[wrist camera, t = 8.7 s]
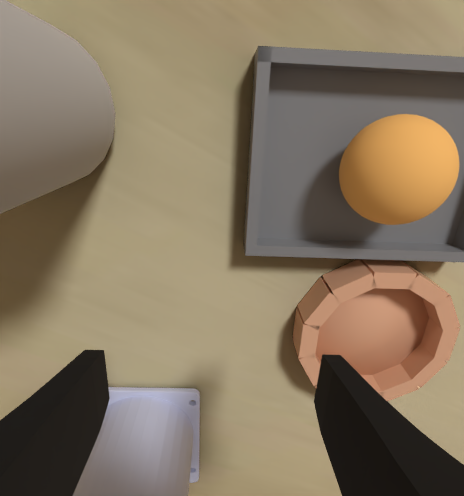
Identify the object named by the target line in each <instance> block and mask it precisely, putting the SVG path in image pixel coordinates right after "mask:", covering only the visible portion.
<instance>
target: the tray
mask: <svg viewBox="0 0 464 496" xmlns="http://www.w3.org/2000/svg"><path fill="white" fill-rule="evenodd" d="M397 114H412V115H419V116H423V117H426V118H428V119H430V120H433V121H434V122H436V123H438V124H439V125H440V126H442V127H443V128H444V129H445V130H446V131H447V132H448V133H449V135H450V136H451V137H452V139H453V141H454V143H455V145H456V147H457V150H458V155H459V173H458V178H457V181H456V184H455V186H454V188H453V190H452V192H451V194H450V195H449V196H448V198H447V199H446V200H445V201H444V203H443V204H442V205H441V206H440V207H438V208H437V209H436V210H435V211H433V212H432V213H431V214H429V215H427V216H426V217H424V218H422V219H419V220H417V221H414V222H411V223H406V224H399V225H386V224H381V223H376V222H373V221H370V220H368V219H366V218H364V217H362V216H361V215H359V214H358V213H357V212H356V211H354V210H353V209H352V208H351V207H350V205H349V204H348V202H347V201H346V199H345V197H344V196H343V193H342V191H341V187H340V183H339V168H340V162H341V159H342V156H343V154H344V151H345V149H346V148H347V146H348V144H349V143H350V142H351V140H352V139H353V138H354V137H355V136H356V135H357V134H358V133H359V132H360V131H361V130H362V129H363V128H364V127H366V126H368V125H369V124H371V123H373V122H375V121H377V120H379V119H381V118H384V117H387V116H392V115H397ZM244 250H245V256H276V257H309V258H342V259H375V260H408V261H441V262H464V57H451V56H433V55H414V54H396V53H378V52H360V51H341V50H323V49H305V48H286V47H268V46H258V48H257V50H256V52H255V60H254V76H253V93H252V110H251V127H250V144H249V160H248V177H247V194H246V211H245V227H244Z"/></svg>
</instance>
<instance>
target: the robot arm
mask: <svg viewBox="0 0 464 496" xmlns="http://www.w3.org/2000/svg"><path fill="white" fill-rule="evenodd" d="M191 400H194V401H191ZM314 403H315V408H316V413H317V418H318V422H319V427H320V431H321V435H322V438H323V441H324V444H325V447H326V450H327V452H328V455H329V458H330V461H331V464H332V467H333V470H334V473H335V476H336V479H337V482H338V485H339V487H340V490H341V493H342V496H464V465H463V464H462V463H460V462H459V461H458V460H456V459H455V458H454V457H452V456H451V455H450V454H448V453H447V452H446V451H445V450H443V449H442V448H441V447H439V446H438V445H437V444H436V443H434V442H433V441H432V440H431V439H429V438H428V437H427V436H426V435H424V434H423V433H422V432H421V431H420V430H418V429H417V428H416V427H415V426H414V425H413V424H412V423H410V422H409V421H408V420H407V419H406V418H405V417H404V416H402V415H401V414H400V413H399V412H398V411H397V410H396V409H395V408H394V407H393V406H392V405H390V404H389V403H388V402H387V401H386V400H385V399H384V398H383V397H382V396H381V395H380V394H379V393H378V392H377V391H376V390H375V389H374V388H373V387H372V386H371V385H370V384H369V383H368V382H367V381H366V380H365V379H364V378H363V377H362V376H361V375H360V374H359V373H358V372H357V371H356V370H355V369H354V368H353V367H352V366H351V365H350V364H349V363H348V362H347V361H346V360H345V359H344V358H343V357H342V356H341V355H325V354H322V359H321V365H320V370H319V376H318V382H317V387H316V393H315V399H314ZM199 441H200V392H199V391H198V390H197V389H194V388H133V387H108V380H107V372H106V364H105V355H104V350H84V351H83V352H82V353H81V354H80V355H78V356H77V357H76V358H75V359H74V360H73V361H71V362H70V363H69V364H68V365H67V366H66V367H65V368H63V369H62V370H61V371H60V372H59V373H58V374H57V375H55V376H54V377H53V378H52V379H51V380H50V381H49V382H47V383H46V384H45V385H44V386H43V387H41V388H40V389H39V390H38V391H37V392H36V393H34V394H33V395H32V396H31V397H30V398H28V399H27V400H26V401H25V402H23V403H22V404H21V405H19V406H18V407H17V408H16V409H14V410H13V411H12V412H11V413H9V414H8V415H7V416H5V417H4V418H3V419H2V420H0V496H188V491H189V483H194V482H197V481H198V480H199Z"/></svg>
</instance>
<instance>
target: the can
mask: <svg viewBox="0 0 464 496" xmlns="http://www.w3.org/2000/svg"><path fill="white" fill-rule="evenodd" d="M114 125H115V110H114V105H113V100H112V95H111V90H110V87H109V85H108V83H107V81H106V79H105V77H104V75H103V73H102V72H101V70H100V68H99V66H98V64H97V62H96V61H95V60H94V59H93V58H92V57H91V56H90V54H89V53H88V52H87V51H86V50H85V49H84V48H83V47H82V46H81V45H80V43H79V42H78V41H77V40H75V39H74V38H72V37H70V36H69V35H67V34H65V33H64V32H62V31H61V30H59V29H57V28H56V27H54V26H53V25H51V24H49V23H47V22H45V21H43V20H42V19H40V18H38V17H36V16H34V15H32V14H30V13H28V12H27V11H25V10H23V9H21V8H19V7H17V6H15V5H14V4H12V3H10V2H8V1H6V0H0V214H1V213H4V212H6V211H8V210H10V209H13V208H15V207H17V206H20V205H22V204H24V203H27V202H29V201H31V200H33V199H36V198H38V197H40V196H43V195H45V194H47V193H50V192H52V191H54V190H57V189H59V188H61V187H63V186H66V185H68V184H70V183H72V182H75V181H77V180H79V179H81V178H83V177H85V176H87V175H89V174H90V173H91V172H92V171H93V170H94V169H95V168H96V167H97V166H98V165H99V164H100V163H101V162H102V161H103V160H104V158H105V156H106V154H107V152H108V149H109V147H110V145H111V143H112V140H113V136H114Z"/></svg>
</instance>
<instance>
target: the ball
mask: <svg viewBox="0 0 464 496" xmlns="http://www.w3.org/2000/svg"><path fill="white" fill-rule="evenodd" d="M458 173H459V155H458V150H457V147H456V145H455V143H454V141H453V139H452V137H451V136H450V135H449V133H448V132H447V131H446V130H445V129H444V128H443V127H442V126H440V125H439V124H438V123H436V122H434V121H433V120H430V119H428V118H426V117H423V116H419V115H412V114H397V115H392V116H387V117H384V118H381V119H379V120H377V121H375V122H373V123H371V124H369V125H368V126H366V127H364V128H363V129H362V130H361V131H360V132H359V133H358V134H357V135H356V136H355V137H354V138H353V139H352V140H351V142H350V143H349V144H348V146H347V148H346V149H345V151H344V154H343V156H342V159H341V162H340V168H339V183H340V187H341V191H342V193H343V196H344V197H345V199H346V201H347V202H348V204H349V205H350V207H351V208H352V209H353V210H354V211H356V212H357V213H358V214H359V215H361V216H362V217H364V218H366V219H368V220H370V221H373V222H376V223H381V224H386V225H399V224H406V223H411V222H414V221H417V220H419V219H422V218H424V217H426V216H427V215H429V214H431V213H432V212H433V211H435V210H436V209H437V208H438V207H440V206H441V205H442V204H443V203H444V201H445V200H446V199H447V198H448V196H449V195H450V194H451V192H452V190H453V188H454V186H455V184H456V181H457V178H458Z"/></svg>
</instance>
